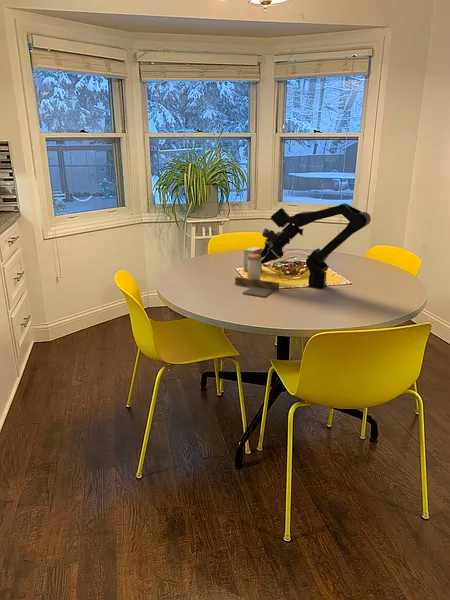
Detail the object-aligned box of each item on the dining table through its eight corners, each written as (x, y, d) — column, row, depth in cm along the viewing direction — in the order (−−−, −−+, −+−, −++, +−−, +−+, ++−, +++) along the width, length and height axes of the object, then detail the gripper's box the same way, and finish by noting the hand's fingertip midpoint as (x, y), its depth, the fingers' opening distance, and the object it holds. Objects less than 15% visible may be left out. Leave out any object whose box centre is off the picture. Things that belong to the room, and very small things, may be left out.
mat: (274, 290, 191) (274, 289, 190) (265, 297, 182) (265, 296, 182) (252, 287, 195) (252, 286, 195) (242, 293, 187) (242, 292, 186)
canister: (262, 281, 204) (263, 254, 200) (257, 284, 199) (257, 257, 195) (250, 279, 207) (250, 253, 203) (244, 282, 202) (245, 256, 198)
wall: (278, 289, 192) (279, 282, 191) (277, 290, 191) (278, 283, 190) (236, 283, 201) (236, 276, 200) (235, 283, 200) (235, 277, 199)
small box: (252, 272, 218) (253, 250, 215) (243, 270, 222) (243, 249, 218) (262, 269, 224) (262, 248, 221) (252, 267, 228) (253, 246, 224)
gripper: (270, 218, 204) (245, 243, 207) (276, 226, 186) (249, 252, 189) (287, 236, 207) (262, 260, 210) (295, 244, 189) (267, 270, 192)
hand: (260, 260), depth 200 cm, fingers open, 9 cm apart
